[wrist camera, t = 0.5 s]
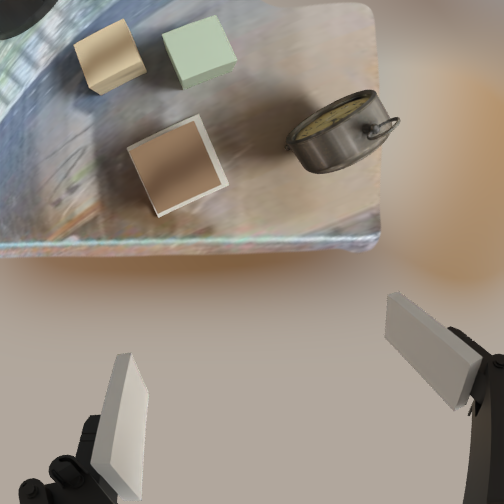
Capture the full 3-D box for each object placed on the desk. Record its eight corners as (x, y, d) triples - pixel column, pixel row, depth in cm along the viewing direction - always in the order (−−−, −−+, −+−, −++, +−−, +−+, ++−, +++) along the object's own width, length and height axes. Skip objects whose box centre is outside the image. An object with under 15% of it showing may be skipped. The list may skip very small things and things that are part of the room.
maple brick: (86, 56, 29) (73, 44, 25) (131, 33, 29) (123, 18, 25) (101, 95, 31) (89, 87, 27) (147, 72, 32) (141, 61, 27)
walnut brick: (137, 151, 33) (129, 151, 29) (193, 125, 34) (194, 120, 29) (162, 206, 36) (157, 213, 31) (218, 180, 36) (221, 184, 31)
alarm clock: (338, 95, 36) (418, 71, 21) (361, 130, 38) (446, 126, 23) (270, 142, 36) (324, 135, 21) (296, 178, 38) (362, 196, 23)
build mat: (127, 147, 34) (126, 147, 33) (198, 114, 34) (198, 114, 33) (158, 216, 37) (158, 217, 36) (228, 184, 37) (229, 185, 36)
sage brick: (165, 48, 31) (161, 34, 26) (213, 31, 31) (216, 14, 26) (183, 90, 33) (182, 80, 28) (231, 71, 33) (237, 60, 29)
